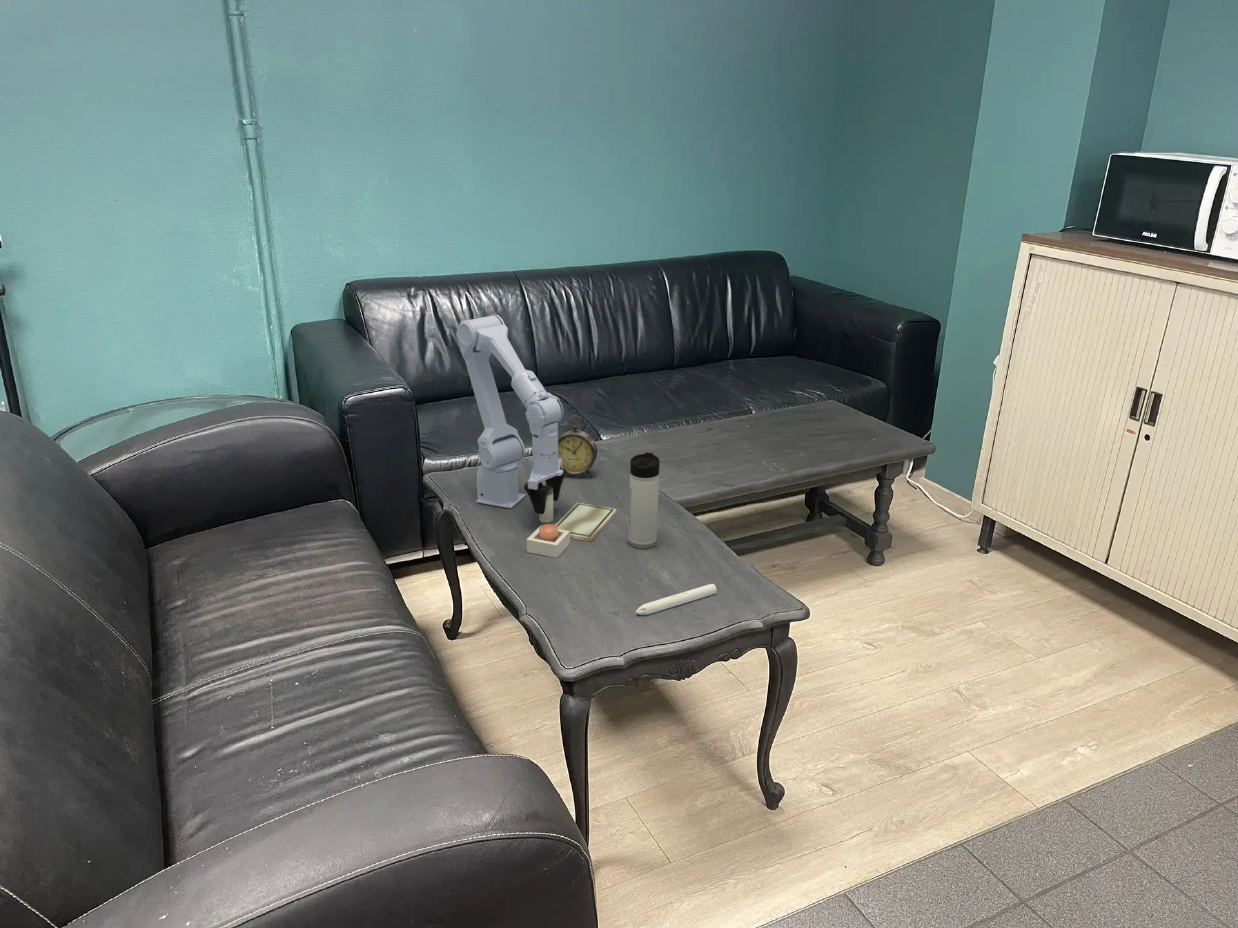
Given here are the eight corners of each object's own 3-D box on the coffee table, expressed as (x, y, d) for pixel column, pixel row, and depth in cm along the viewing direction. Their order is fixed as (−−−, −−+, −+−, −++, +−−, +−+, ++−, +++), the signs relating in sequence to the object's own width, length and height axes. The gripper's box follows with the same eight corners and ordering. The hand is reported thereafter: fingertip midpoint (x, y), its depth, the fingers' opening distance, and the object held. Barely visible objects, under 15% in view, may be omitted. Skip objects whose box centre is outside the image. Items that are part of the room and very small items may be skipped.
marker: (638, 619, 159) (638, 609, 158) (632, 614, 161) (632, 603, 160) (716, 595, 168) (717, 585, 167) (710, 590, 169) (711, 580, 169)
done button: (536, 543, 182) (535, 530, 181) (544, 535, 186) (543, 522, 185) (553, 546, 181) (553, 533, 180) (560, 538, 185) (560, 525, 184)
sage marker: (537, 521, 196) (536, 490, 193) (543, 516, 198) (542, 484, 195) (549, 524, 195) (549, 492, 192) (555, 518, 197) (555, 486, 194)
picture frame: (549, 533, 190) (549, 530, 190) (577, 505, 204) (577, 501, 204) (591, 541, 187) (591, 538, 187) (616, 512, 201) (616, 508, 201)
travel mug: (660, 538, 189) (664, 454, 182) (651, 551, 184) (655, 465, 176) (633, 533, 191) (636, 450, 184) (624, 546, 185) (626, 461, 178)
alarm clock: (552, 477, 220) (551, 417, 213) (557, 469, 225) (556, 410, 218) (594, 480, 218) (594, 420, 212) (598, 472, 223) (599, 413, 217)
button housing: (526, 551, 182) (526, 539, 181) (540, 537, 188) (540, 525, 187) (557, 557, 180) (556, 545, 179) (570, 543, 186) (569, 531, 185)
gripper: (548, 465, 182) (549, 522, 188) (574, 442, 195) (574, 496, 200) (518, 460, 185) (520, 517, 190) (546, 438, 197) (547, 492, 202)
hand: (546, 506), depth 195 cm, fingers open, 7 cm apart
